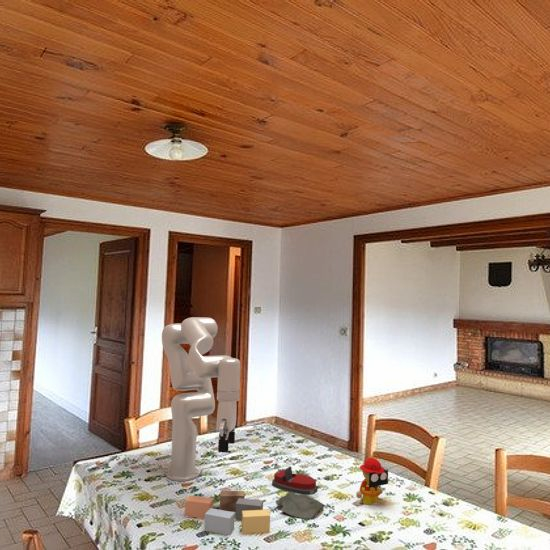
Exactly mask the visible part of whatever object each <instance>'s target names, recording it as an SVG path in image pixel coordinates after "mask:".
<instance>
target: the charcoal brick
mask: <svg viewBox="0 0 550 550" xmlns="http://www.w3.org/2000/svg"><path fill="white" fill-rule="evenodd" d="M249 510H264V500H261V499H250V498H244V499H242V498H239V499H238V501H237V502H236V511H235V520H236V519H238V521H242V511H249Z"/></svg>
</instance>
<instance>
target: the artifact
mask: <svg viewBox="0 0 550 550" xmlns="http://www.w3.org/2000/svg"><path fill="white" fill-rule="evenodd" d="M275 504H276V506H278V507H279V506H280V507H281V506H282V507H281V508H280V509H279V510H280V511H281V512H285V514H287V515H289V516H291V517H295V518H300V519H303V520H311V519H313V518H314V517H316V516H317V515H318V514H320V513H322V511H323V510H324V507H326V505H325V504H324V503H322V502H321V501H320V500H317V499H314V498H313V497H311V495H305V494H297V493H293V492H288V491H287V493H286V494H285V495H283V496H280V497H279V498H278V499H277V500H275Z"/></svg>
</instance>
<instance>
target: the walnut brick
mask: <svg viewBox="0 0 550 550" xmlns="http://www.w3.org/2000/svg"><path fill="white" fill-rule="evenodd" d="M245 497H246V496H245V490H220V492H219V510H223V511H229V512H236V502H237V501H238V499H239V498H242V499H246V498H245Z"/></svg>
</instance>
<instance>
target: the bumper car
mask: <svg viewBox="0 0 550 550" xmlns="http://www.w3.org/2000/svg"><path fill="white" fill-rule="evenodd" d="M269 457H271V458H274V459H275V462H276V464H277V466H276V467H277V471H276V472H274V474H273V475H274V476H273V479H272V481H271V482H272V483H271V485H272V486H273V487H274V488H277V489H279V490H283V491H285V492H287V493H288V492H293V493H295V494H299V495H302V494H305V495H309V496H311V495H314V494H315V493H316V492H317V491H318V486H317V481H316V479H315V478H313V477H312V476H310V475H307V474H303V473H293V469H292V466H290V465H289V466H288V467H287V468H285V469H280V470H279V462H278V459H277V458H276V457H275V456H274V455H273V454H270V455H269Z"/></svg>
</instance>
